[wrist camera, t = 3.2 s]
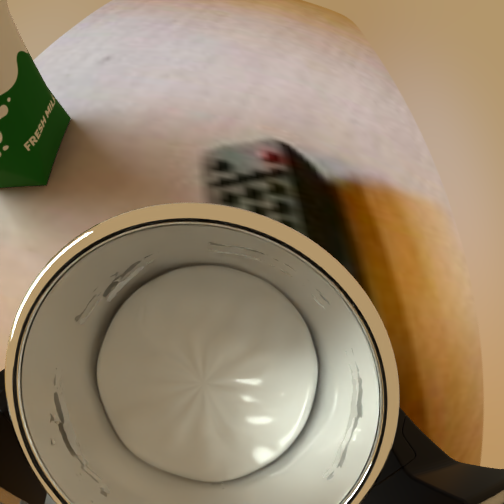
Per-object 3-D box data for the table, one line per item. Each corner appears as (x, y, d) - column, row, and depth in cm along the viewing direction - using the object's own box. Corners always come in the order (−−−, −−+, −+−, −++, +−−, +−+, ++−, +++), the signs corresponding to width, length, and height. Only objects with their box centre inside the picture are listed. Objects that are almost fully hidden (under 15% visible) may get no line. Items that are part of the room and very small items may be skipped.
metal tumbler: (141, 373, 17) (-33, 439, 3) (192, 280, 19) (118, 129, 5) (239, 425, 17) (281, 604, 2) (289, 331, 19) (462, 311, 4)
